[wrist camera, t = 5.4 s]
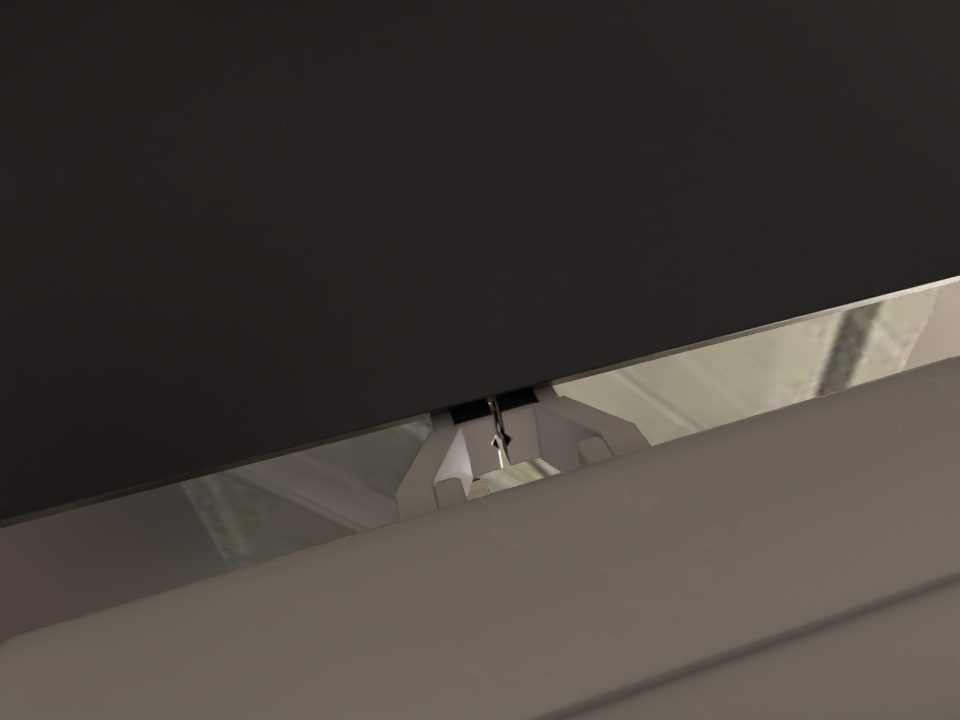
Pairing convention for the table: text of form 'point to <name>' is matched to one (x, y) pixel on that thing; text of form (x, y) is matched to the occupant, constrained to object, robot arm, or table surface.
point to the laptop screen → (431, 208)
